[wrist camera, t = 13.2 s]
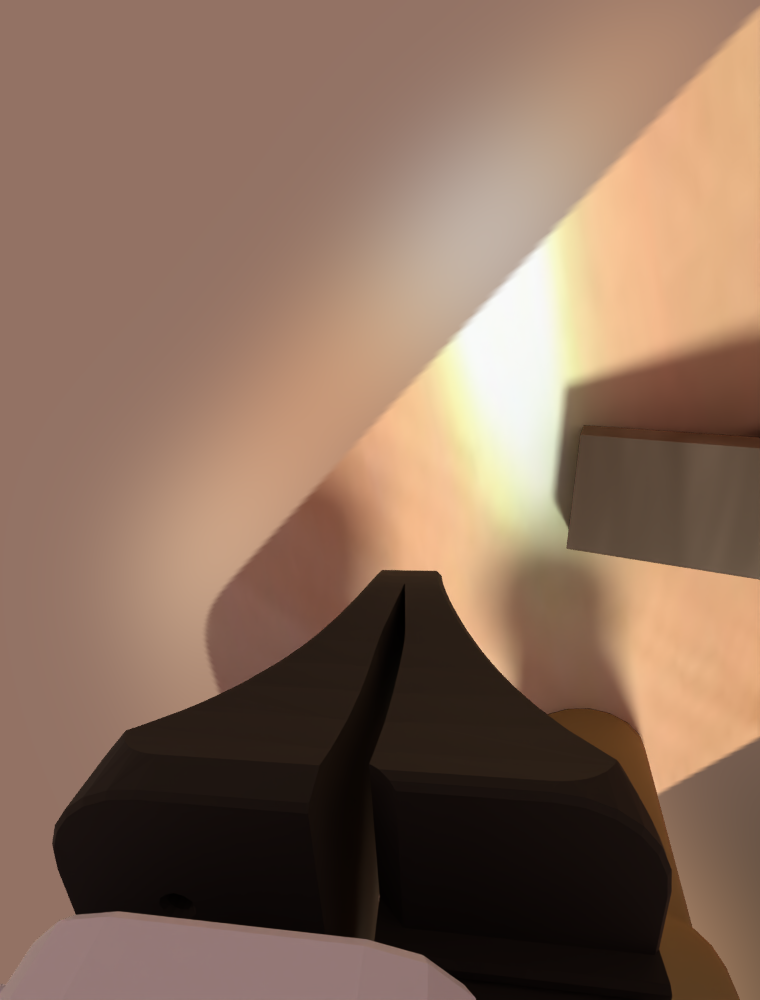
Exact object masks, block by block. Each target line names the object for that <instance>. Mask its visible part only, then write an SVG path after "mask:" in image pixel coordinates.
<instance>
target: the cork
mask: <svg viewBox="0 0 760 1000" xmlns="http://www.w3.org/2000/svg"><path fill="white" fill-rule="evenodd" d="M548 715H549V716H550V717H551V718H553V719H554V720H555V721H557V722H558V723H559V724H561V725H562V726H563V727H565V728H566V729H568V730H569V731H571V732H572V733H574V734H576V735H577V736H579V737H581V738H582V739H584V740H585V741H587V742H589V743H590V744H592V745H593V746H595V747H597V748H598V749H600V750H602V751H603V752H605V753H606V754H608V755H610V756H611V757H613V758H615V759H616V760H617V761H618V762H619V763H620V764H621V766H622V768H623V769H624V771H625V773H626V774H627V776H628V778H629V779H630V781H631V783H632V784H633V786H634V788H635V790H636V791H637V793H638V795H639V797H640V799H641V800H642V802H643V804H644V806H645V808H646V810H647V811H648V813H649V815H650V817H651V819H652V821H653V823H654V825H655V827H656V830H657V832H658V834H659V836H660V839H661V841H662V844H663V846H664V849H665V852H666V855H667V859H668V861H669V864H670V866H671V869H672V892H671V897H670V902H669V906H668V911H667V915H666V920H665V924H664V929H663V933H662V938H661V943H660V947H659V950H660V953H661V956H662V959H663V962H664V966H665V969H666V972H667V975H668V978H669V981H670V984H671V990H672V999H671V1000H740V999H739V996H738V994H737V992H736V989H735V987H734V985H733V983H732V980H731V978H730V975H729V973H728V971H727V968H726V966H725V965H724V963H723V962H722V960H721V959H720V958H719V956H718V954H717V953H716V951H715V950H714V948H713V947H712V945H711V944H709V942H707V941H706V940H705V939H704V938H703V937H702V936H701V935H700V934H699V933H698V932H697V931H696V930H695V929H693V928H692V924H691V921H690V917H689V913H688V909H687V905H686V901H685V898H684V894H683V890H682V887H681V883H680V879H679V875H678V871H677V868H676V864H675V860H674V856H673V853H672V849H671V845H670V841H669V837H668V834H667V830H666V827H665V822H664V819H663V815H662V811H661V807H660V804H659V800H658V796H657V792H656V788H655V785H654V781H653V777H652V773H651V770H650V766H649V762H648V758H647V755H646V751H645V748H644V746H643V743H642V741H641V738H640V736H639V735H638V734H637V732H636V731H635V730H634V729H633V728H632V727H631V726H630V725H629V724H628V723H627V722H625V721H623V720H621V719H619V718H617V717H615V716H614V715H612V714H610V713H605V712H601V711H597V710H592V709H567V710H563V711H559V712H556V713H552V714H548Z"/></svg>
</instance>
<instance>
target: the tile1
mask: <svg viewBox="0 0 760 1000" xmlns="http://www.w3.org/2000/svg"><path fill="white" fill-rule="evenodd" d="M567 549H573V550H579V551H585V552H591V553H598V554H604V555H610V556H616V557H622V558H629V559H635V560H641V561H647V562H654V563H660V564H666V565H672V566H679V567H685V568H691V569H697V570H704V571H710V572H716V573H722V574H729V575H735V576H741V577H747V578H753V579H760V437H745V436H731V435H716V434H702V433H687V432H673V431H659V430H644V429H630V428H615V427H601V426H586V425H584V427H583V429H582V432H581V435H580V442H579V450H578V459H577V467H576V475H575V483H574V491H573V500H572V508H571V516H570V524H569V532H568V540H567Z"/></svg>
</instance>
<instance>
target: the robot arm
mask: <svg viewBox="0 0 760 1000" xmlns="http://www.w3.org/2000/svg"><path fill="white" fill-rule="evenodd" d="M52 844H53V850H54V854H55V859H56V863H57V867H58V871H59V873H60V876H61V878H62V881H63V883H64V886H65V888H66V891H67V893H68V896H69V898H70V901H71V903H72V906H73V908H74V911H75V914H76V915H73V916H71V917H68V918H65V919H62V920H59V921H58V922H57V923H56V924H55V925H53V926H52V927H51V928H50V929H49V930H48V931H46V932H45V933H44V934H43V935H42V936H41V937H39V938H38V939H37V940H36V941H35V942H34V943H33V944H32V946H31V947H30V949H29V950H28V952H27V953H26V955H25V956H24V958H23V959H22V961H21V962H20V964H19V966H18V967H17V968H16V970H15V972H14V973H13V975H12V976H11V978H10V979H9V981H8V982H7V984H6V985H5V984H0V1000H671V999H672V990H671V984H670V981H669V978H668V975H667V972H666V969H665V966H664V962H663V959H662V956H661V953H660V950H659V947H660V943H661V938H662V933H663V929H664V924H665V920H666V915H667V911H668V906H669V902H670V897H671V892H672V869H671V866H670V864H669V861H668V859H667V855H666V852H665V849H664V846H663V844H662V841H661V839H660V836H659V834H658V832H657V830H656V827H655V825H654V823H653V821H652V819H651V817H650V815H649V813H648V811H647V810H646V808H645V806H644V804H643V802H642V800H641V799H640V797H639V795H638V793H637V791H636V790H635V788H634V786H633V784H632V783H631V781H630V779H629V778H628V776H627V774H626V773H625V771H624V769H623V768H622V766H621V764H620V763H619V762H618V761H617V760H616V759H615V758H613V757H611V756H610V755H608V754H606V753H605V752H603V751H602V750H600V749H598V748H597V747H595V746H593V745H592V744H590V743H589V742H587V741H585V740H584V739H582V738H581V737H579V736H577V735H576V734H574V733H572V732H571V731H569V730H568V729H566V728H565V727H563V726H562V725H561V724H559V723H558V722H557V721H555V720H554V719H553V718H551V717H550V716H549V715H547V714H546V713H545V712H543V711H542V710H540V709H539V708H538V707H537V706H536V705H534V704H533V703H532V702H531V701H530V700H529V699H528V698H526V697H525V696H524V695H523V694H522V693H521V692H520V691H519V690H517V689H516V688H515V687H514V686H513V685H512V684H511V683H510V682H509V681H508V680H507V679H506V678H505V677H504V676H503V675H502V674H501V673H500V672H499V671H498V669H497V668H496V667H495V666H494V665H493V664H492V663H491V662H490V660H489V659H488V658H487V657H486V656H485V654H484V653H483V652H482V651H481V649H480V648H479V647H478V645H477V644H476V643H475V641H474V640H473V638H472V637H471V635H470V634H469V633H468V631H467V630H466V628H465V626H464V625H463V623H462V622H461V620H460V618H459V616H458V615H457V613H456V611H455V609H454V608H453V606H452V604H451V602H450V600H449V598H448V595H447V593H446V591H445V588H444V585H443V582H442V576H441V575H440V574H439V573H438V572H437V571H400V570H382V571H381V572H380V573H379V574H378V575H377V576H376V577H375V578H374V579H373V580H372V581H371V582H370V583H369V584H368V586H367V587H366V588H365V589H364V590H363V591H362V592H361V593H360V594H359V595H358V596H357V598H356V599H355V600H354V601H353V602H352V603H351V604H350V605H349V606H348V607H347V608H346V609H345V610H344V611H343V612H342V613H341V614H340V615H339V616H338V617H337V618H335V619H334V620H333V621H332V622H331V623H330V624H329V625H328V626H326V627H325V628H324V629H323V630H322V631H321V632H320V633H319V634H317V635H316V636H315V637H314V638H312V639H311V640H310V641H308V642H307V643H306V644H305V645H303V646H302V647H300V648H299V649H297V650H296V651H295V652H293V653H292V654H290V655H289V656H287V657H286V658H284V659H283V660H281V661H280V662H278V663H276V664H275V665H273V666H271V667H270V668H268V669H266V670H264V671H263V672H261V673H259V674H257V675H256V676H254V677H252V678H251V679H249V680H247V681H245V682H244V683H242V684H240V685H238V686H236V687H234V688H232V689H230V690H228V691H226V692H223V693H221V694H219V695H217V696H215V697H213V698H210V699H208V700H206V701H204V702H201V703H199V704H197V705H195V706H192V707H190V708H187V709H185V710H182V711H180V712H177V713H174V714H171V715H169V716H166V717H163V718H161V719H158V720H155V721H152V722H149V723H147V724H144V725H141V726H138V727H136V728H132V729H130V730H126V731H125V732H124V734H123V735H122V736H121V737H120V739H119V740H118V741H117V742H116V743H115V745H114V746H113V747H112V748H111V750H110V751H109V752H108V753H107V755H106V756H105V757H104V758H103V760H102V761H101V763H100V764H99V765H98V766H97V768H96V769H95V771H94V772H93V773H92V774H91V776H90V777H89V778H88V780H87V781H86V782H85V784H84V785H83V786H82V788H81V789H80V791H79V792H78V793H77V794H76V796H75V797H74V798H73V800H72V801H71V802H70V804H69V805H68V806H67V808H66V809H65V811H64V812H63V814H62V815H61V817H60V818H59V820H58V821H57V823H56V824H55V829H54V836H53V843H52Z"/></svg>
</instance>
